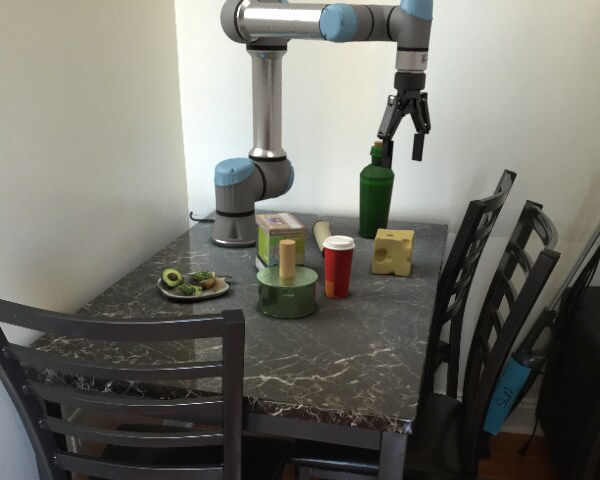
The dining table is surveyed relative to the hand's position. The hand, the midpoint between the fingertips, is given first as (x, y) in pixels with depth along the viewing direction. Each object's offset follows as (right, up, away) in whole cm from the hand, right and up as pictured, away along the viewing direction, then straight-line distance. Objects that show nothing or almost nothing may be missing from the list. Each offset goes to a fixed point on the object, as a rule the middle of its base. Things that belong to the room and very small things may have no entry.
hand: (401, 164), depth 166 cm
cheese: (-1, -24, +14) cm, 28 cm away
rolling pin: (-18, -15, +29) cm, 38 cm away
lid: (-29, -32, -14) cm, 45 cm away
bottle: (-3, -8, +42) cm, 43 cm away
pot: (-29, -38, -10) cm, 49 cm away
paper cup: (-17, -34, -2) cm, 38 cm away
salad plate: (-54, -32, -1) cm, 63 cm away
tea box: (-32, -26, +9) cm, 42 cm away
